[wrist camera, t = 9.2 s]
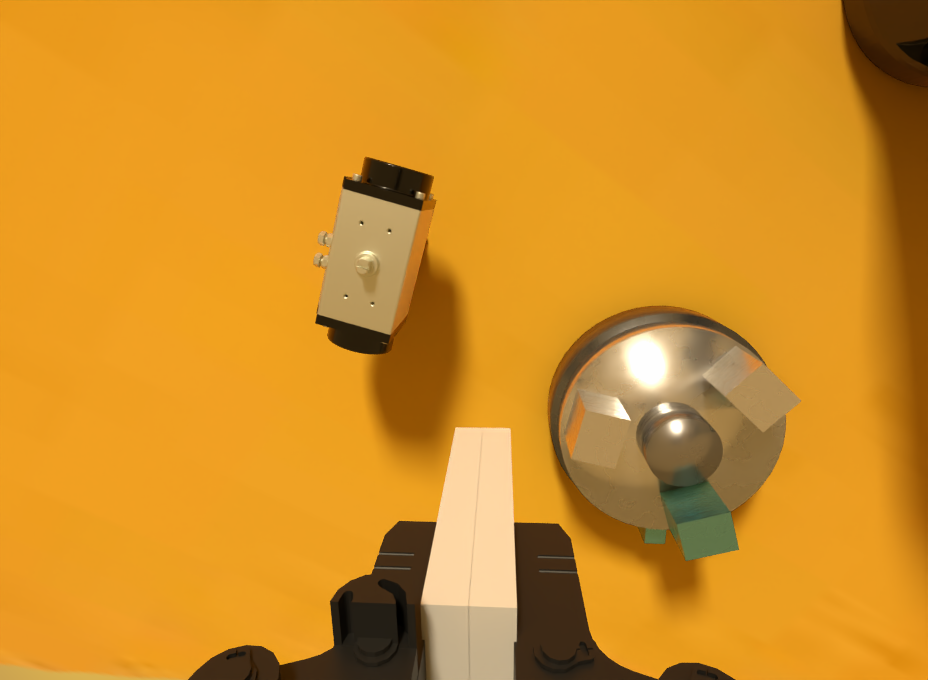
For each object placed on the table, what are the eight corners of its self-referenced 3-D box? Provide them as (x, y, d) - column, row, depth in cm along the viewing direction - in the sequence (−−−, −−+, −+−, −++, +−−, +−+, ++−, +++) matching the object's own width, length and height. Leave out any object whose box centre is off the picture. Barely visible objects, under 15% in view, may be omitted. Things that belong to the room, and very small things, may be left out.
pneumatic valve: (448, 180, 40) (427, 174, 29) (411, 324, 43) (379, 371, 32) (378, 160, 40) (328, 145, 28) (346, 306, 43) (290, 346, 32)
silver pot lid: (731, 275, 40) (755, 283, 37) (783, 478, 44) (809, 505, 41) (520, 346, 43) (521, 361, 39) (586, 532, 47) (594, 562, 43)
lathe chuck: (533, 355, 40) (538, 382, 34) (751, 293, 38) (796, 311, 32) (586, 534, 43) (599, 585, 38) (788, 487, 41) (835, 535, 35)
